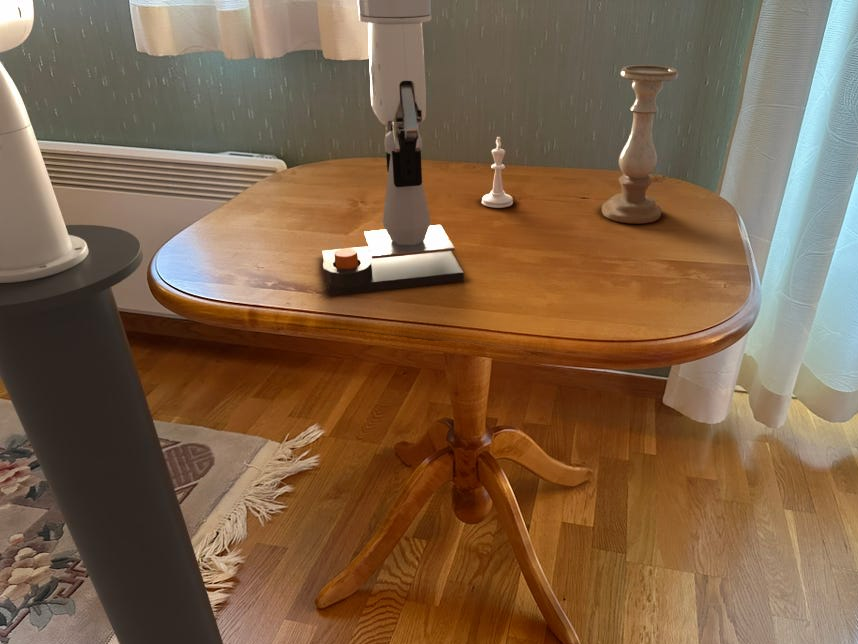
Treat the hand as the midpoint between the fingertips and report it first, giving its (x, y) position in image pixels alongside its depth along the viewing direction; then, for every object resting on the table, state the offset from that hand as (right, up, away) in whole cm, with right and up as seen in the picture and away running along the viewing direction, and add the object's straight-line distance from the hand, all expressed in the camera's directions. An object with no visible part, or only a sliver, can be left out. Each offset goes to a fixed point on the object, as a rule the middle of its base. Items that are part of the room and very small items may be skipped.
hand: (404, 177), depth 80 cm
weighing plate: (0, -7, +4) cm, 8 cm away
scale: (-2, -10, +4) cm, 11 cm away
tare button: (-7, -11, -1) cm, 13 cm away
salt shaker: (0, -7, +4) cm, 8 cm away
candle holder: (+32, 0, +22) cm, 39 cm away
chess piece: (+12, +3, +26) cm, 29 cm away
